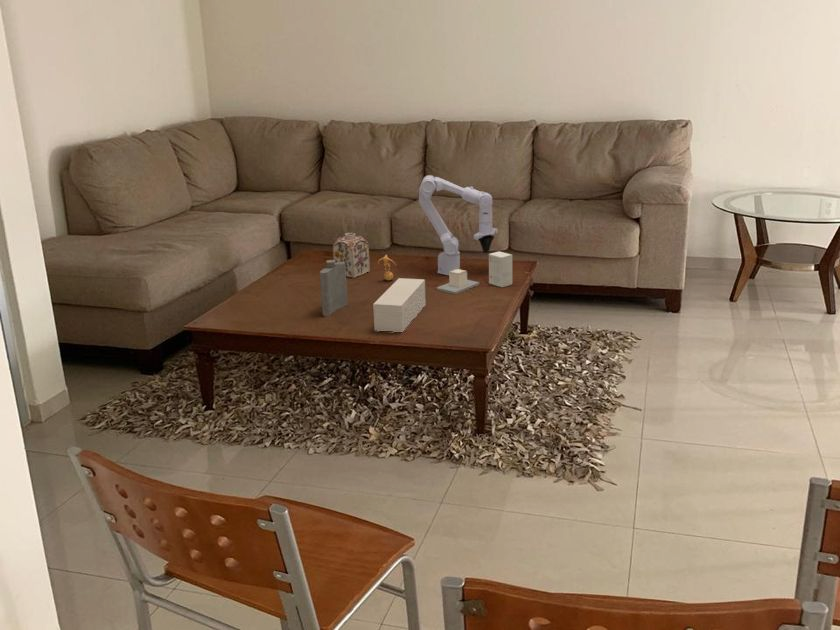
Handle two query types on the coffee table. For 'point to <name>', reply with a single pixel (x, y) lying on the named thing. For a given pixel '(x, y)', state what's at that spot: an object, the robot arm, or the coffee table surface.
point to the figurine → (388, 274)
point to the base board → (456, 289)
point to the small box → (500, 269)
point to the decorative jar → (352, 254)
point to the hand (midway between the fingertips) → (485, 252)
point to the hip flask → (333, 287)
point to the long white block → (399, 305)
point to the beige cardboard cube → (458, 278)
